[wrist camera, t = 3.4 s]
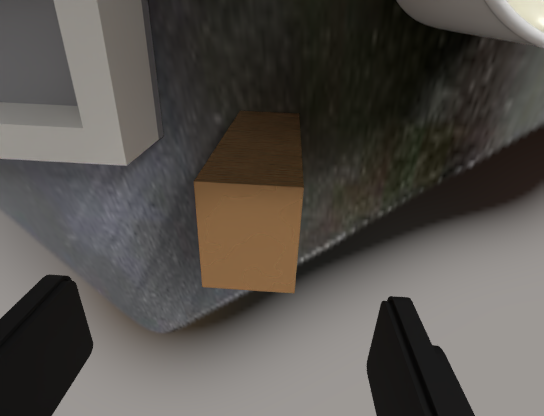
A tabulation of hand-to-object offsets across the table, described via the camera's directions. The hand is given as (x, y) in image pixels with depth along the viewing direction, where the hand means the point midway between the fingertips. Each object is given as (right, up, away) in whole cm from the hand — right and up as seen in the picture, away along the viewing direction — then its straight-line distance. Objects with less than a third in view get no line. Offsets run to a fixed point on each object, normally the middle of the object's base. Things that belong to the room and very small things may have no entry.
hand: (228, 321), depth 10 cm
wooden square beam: (+1, +8, +13) cm, 16 cm away
